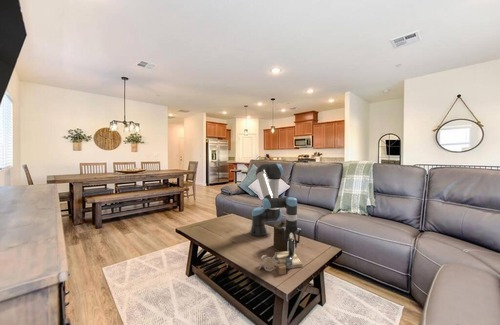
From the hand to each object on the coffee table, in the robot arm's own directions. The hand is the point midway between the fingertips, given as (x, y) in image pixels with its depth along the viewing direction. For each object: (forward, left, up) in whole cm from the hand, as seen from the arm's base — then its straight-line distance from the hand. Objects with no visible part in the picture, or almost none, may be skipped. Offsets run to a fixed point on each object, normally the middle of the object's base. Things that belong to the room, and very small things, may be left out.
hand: (291, 251), depth 154 cm
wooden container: (-16, -1, -5) cm, 17 cm away
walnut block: (+15, -12, -5) cm, 20 cm away
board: (+3, -3, -5) cm, 7 cm away
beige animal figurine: (+9, -18, -6) cm, 20 cm away
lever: (+7, -3, -3) cm, 8 cm away
